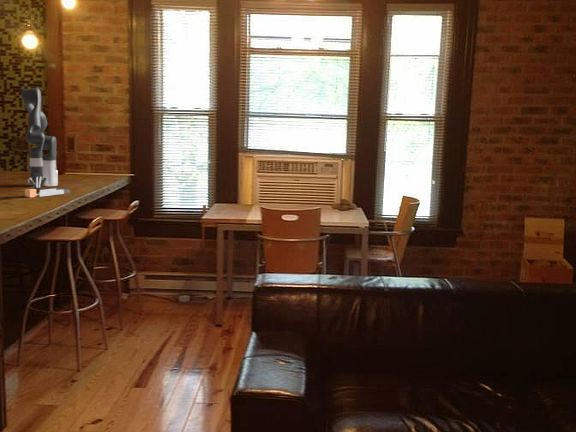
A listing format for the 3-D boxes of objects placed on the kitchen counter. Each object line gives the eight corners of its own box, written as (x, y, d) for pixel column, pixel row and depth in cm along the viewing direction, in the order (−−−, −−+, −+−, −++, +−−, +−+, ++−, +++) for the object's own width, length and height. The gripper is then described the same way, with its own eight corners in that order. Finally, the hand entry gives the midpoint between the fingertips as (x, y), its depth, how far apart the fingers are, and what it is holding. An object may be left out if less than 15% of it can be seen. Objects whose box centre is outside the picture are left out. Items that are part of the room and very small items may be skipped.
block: (31, 195, 409) (31, 188, 408) (36, 196, 406) (36, 189, 405) (25, 196, 405) (24, 189, 404) (30, 197, 402) (29, 190, 402)
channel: (55, 192, 426) (55, 188, 425) (63, 193, 422) (63, 189, 421) (31, 195, 411) (31, 191, 410) (40, 196, 407) (40, 192, 406)
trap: (61, 191, 430) (61, 188, 430) (70, 192, 426) (70, 190, 426) (55, 192, 426) (55, 189, 426) (63, 193, 422) (63, 190, 422)
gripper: (41, 164, 413) (42, 191, 417) (23, 165, 402) (23, 194, 405) (49, 165, 410) (50, 193, 413) (31, 166, 399) (32, 195, 402)
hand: (37, 193), depth 409 cm, fingers closed
